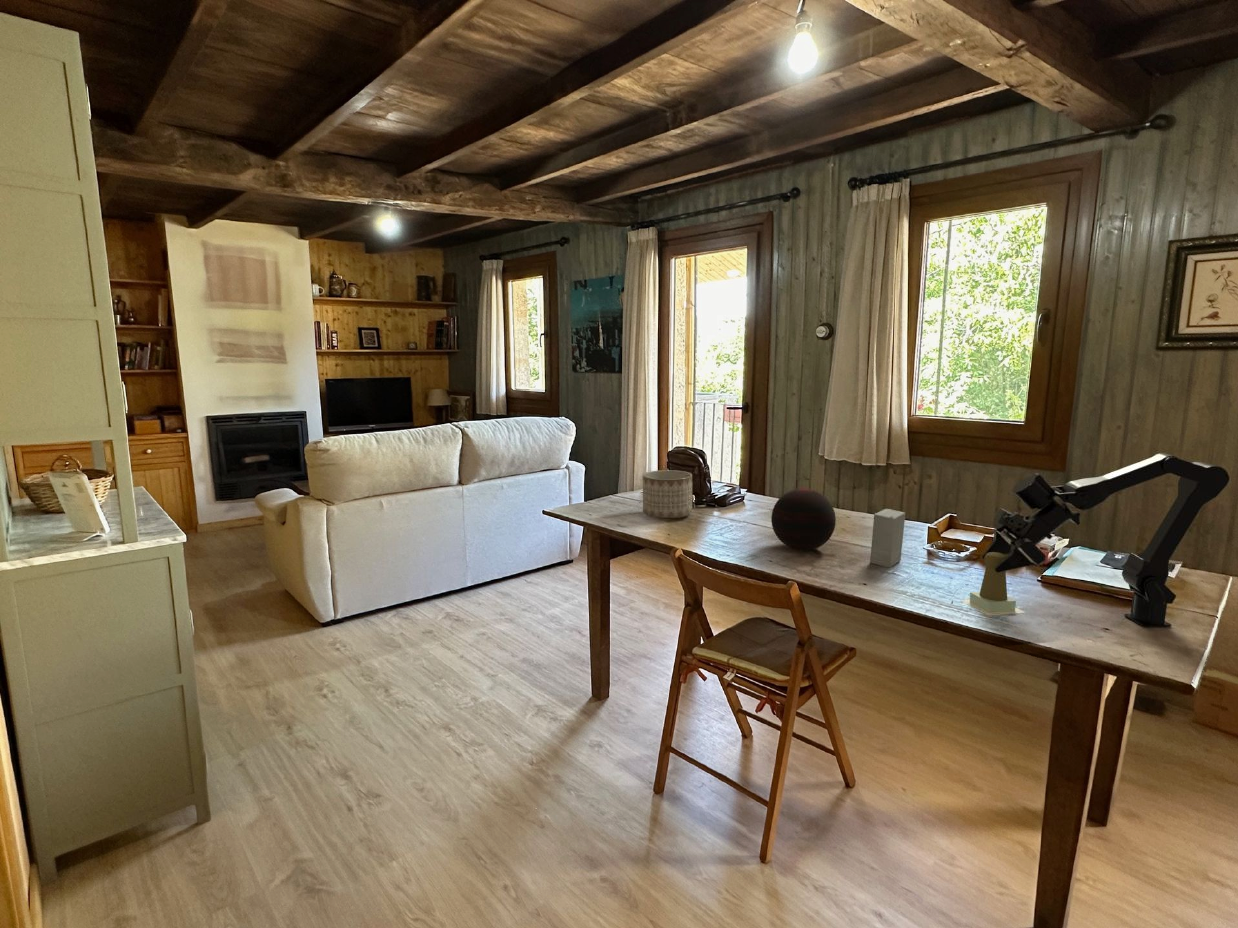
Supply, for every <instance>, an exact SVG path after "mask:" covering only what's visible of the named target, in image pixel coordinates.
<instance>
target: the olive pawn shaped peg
mask: <svg viewBox="0 0 1238 928" xmlns="http://www.w3.org/2000/svg"><path fill="white" fill-rule="evenodd" d="M1006 556H1007V554H1005V553H1003V554H1002V553H998V552H989V553H987V554H986V555H985V557H984V559H983V561H984V564H985V570H984V573H983V579H982V583H981V586H980V589H979V590H980V591H979V592H980V594H979V595H980V596H981V597H983V598H985V599H988V600H993V601H1005V600H1007V596H1008V589H1007V588H1008V587H1007V571H1003V572H996V571H995V570H994V569H995V567H996V566H997V565H998V564H999V563H1000V562H1001V561H1002V560H1003V559H1004V558H1005V557H1006Z"/></svg>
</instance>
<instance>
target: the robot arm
mask: <svg viewBox="0 0 1238 928" xmlns="http://www.w3.org/2000/svg"><path fill="white" fill-rule="evenodd" d="M1168 474H1172V475H1174V476H1177V477H1179V479H1178V482H1177V497H1176V499H1175V500H1174V501H1173V503H1172V505H1171V506H1170V508H1169V510H1168V511H1167V512H1166V515H1165V516H1164V518H1163V519H1162V521H1161V523H1160V524H1159V526H1158V528H1157V530H1156V532H1155V533H1154V535H1153V536H1152V537H1151V540H1150V541H1149V543H1148V545H1147V546H1146V548H1145V550H1143V551H1142V552H1140V553H1139V554H1134V553H1133V552H1131V553H1129V555H1128V557H1127V560H1126V562H1125V563H1124V564H1122V565H1121V568H1122V570H1121V571H1122V572H1121V576H1122V578H1123V581H1125V583H1126V584H1127V585H1128V588H1129V590H1131V591H1133V595H1132V599H1131V607H1130V613H1124V617H1125V618H1128V619H1129V620H1131V621H1133V622H1135V623H1137V624H1138V625H1140V626H1142V627H1156V628H1157V627H1172V623H1170V622H1169V621H1166V616H1167V615H1166V614H1167V608H1168V604H1169V605H1170V604H1171V605H1172V604H1173V602H1175V601H1174V600H1175V599H1176V598H1177V594H1175V593H1174V592H1173V591H1172V590H1171V589H1170V588H1169V587H1168V586H1167V585H1166V582H1167V580H1168V577H1169V575H1170V569H1169V568H1170V560H1171V558H1172V557H1173V555H1174V553H1175V552H1176V550H1177V548H1178V547H1179V545H1180V544H1181V542H1182V541H1183V539H1184V537H1185V535H1187V533H1188V531H1189V529H1190V528H1191V525H1192V524H1193V523H1194V522H1195V519H1196V517H1197V516H1198V515H1199V513H1200V511H1201V509H1202V508H1203V507H1204V506H1205V505H1206V504H1208V503H1209V502H1211V501H1212V500H1214V499H1216V498H1217V497H1219V496H1220V494H1221V493H1222V491H1224V490H1225V488H1226V487H1227V486H1228V484H1229V482H1230V480H1231V478H1230V476H1229V473H1228V471H1227V470H1226V469H1225V468H1223V467H1222V466H1217V465H1215V464H1211V463H1208V462H1203V461H1193V462H1191V461H1187V460H1185V459H1181V458H1178V457H1177V456H1175V455H1171V454H1169V453H1163V452H1160V453H1156V454H1155V455H1154V456H1152V457H1149V458H1147V459H1144V460H1141V461H1140V462H1136V463H1133V464H1130V465H1128V466H1125V467H1123V468H1122V467H1121V468H1120V469H1118V470H1114V471H1112V472H1110V473H1107V474H1104V475H1101V476H1097V477H1087V478H1086V477H1085V478H1081V479H1076V480H1071V481H1068V482H1066V483H1064V485H1057V486H1050V484H1049V483H1048V482H1046V480H1045V479H1044V477H1043V476H1042V475H1041V474H1039V473H1037V472H1036V473H1034V474H1032V475H1031V476H1030V475H1029V476H1027V477H1025V478H1023V479H1020V480H1018V482H1016V483H1015V485H1014V486H1013V487H1012V492H1013V494H1014V495H1015V496H1016V497H1018V499H1019V500H1021V502H1022V503H1024V505H1025V506H1026V507H1028V508H1029V509H1030V510H1034V509H1036V511H1035V512H1034V513H1033V514H1031V515H1029V514H1025V515H1022V514H1021V513H1019V512H1018V511H1017V512H1016V511H1014V512H1011V511H1009V510H1006V509H1004V508H1002V507H1000V508H999V509H998V511H997V512H996V514H995V516H993V520H995V521H996V524H994V525H993V528H994V529H992V532H993V539H992V541H991V543H990V544H989V546H988V547H987V549H986V550H985V552H983V554H982V556H981V558H982V559H983V560H984V557H985V555H986V554H987V553H989V552H998V553H1002V554H1005V553H1007V552H1009V553H1008V554H1006V557H1005V558H1004V559H1003V560H1002V561H1001V562H1000V563H999V564H998V565H997V566H996V567H995V569H994V570H995V571H996V572H1003V571H1006V572H1008V571H1011V570H1015V569H1018V568H1019V569H1020V568H1025V567H1030V566H1032V567H1033V566H1035V565H1037V566H1038V567H1039V566H1041V565H1042V564H1043V563H1044V562H1046V556H1047V555H1046V554H1045V553H1044V552H1043V551H1042V550H1041V549H1040V548H1039V547H1038V546H1037V545H1038V544H1040V543H1041V542H1042V541H1044V540H1045V539H1046V538H1047V539H1048V540H1051V539H1052V538H1053V537H1054V536H1053V535H1052V534H1053V533H1054V532H1055V531H1057V530H1058V529H1059V528H1061V527H1062V526H1064V524H1066V523H1067V522H1069V521H1070V522H1071V523H1073V524H1075V525H1077V526H1079V525H1080V524H1081V523H1080V522H1081V521H1080V516H1081V513H1080V512H1078V511H1076V510H1074V511H1073V510H1072V509H1071V508H1070V507H1069V506H1072V507H1073V508H1075V509H1078V510H1081V511H1087V510H1092V509H1093V508H1095V507H1096V506H1099V505H1100V504H1102V503H1103V502H1105V501H1106V500H1107V499H1109V497H1111V496H1112V495H1114V494H1116V493H1119V492H1121V491H1123V490H1126V489H1129V488H1132V487H1135V486H1138V485H1139V484H1144V483H1145V482H1148V481H1151V480H1154V479H1157V478H1160V477H1162V476H1164V475H1168ZM1054 498H1055V499H1054ZM1057 499H1058V500H1059V501H1061V502H1060V503H1059V502H1057ZM1063 502H1064V503H1063ZM1068 505H1069V506H1068Z"/></svg>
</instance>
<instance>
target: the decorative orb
mask: <svg viewBox="0 0 1238 928" xmlns="http://www.w3.org/2000/svg"><path fill="white" fill-rule="evenodd" d="M833 507H834V506H833V505H832V503H831V502H830V501H829V499H828V498H827V497H826V496H825V495H823V494H822V493H820V492H818V491H816V490H814V489H811V488H795V489H792V490H789V491H788V492H786V493H784V494H782V495H781V496H780V497H779V499H778V500H777V501H776V503H775V504H774V506H773V508H772V512H771V516H770V518H771V526H772V529H773V532H774V534H775V536H776V537H777V539H778V540H779V541H780V542H781V543H782V544H783V545H784V546H786V547H788V548H791V549H793V550H796V551H802V552H803V551H804V552H806V551H807V552H808V551H813V550H816V549H819V548H820V547H822V546H824V544H826V543H827V542H828V541H829V540H830V539H831V537H832V535H833V533H834V531H835V528H836V522H837V521H836V517H837V516H836V513H835V509H834V508H833Z"/></svg>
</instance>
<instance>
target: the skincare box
mask: <svg viewBox="0 0 1238 928" xmlns="http://www.w3.org/2000/svg"><path fill="white" fill-rule="evenodd" d="M905 520H906V512H903V511H899V510H894V509H889V508H885V509H882V510H880V511H879V512H875V513H874V514H873V523H872V524H873V525H872V538H871V549H870V560H869V563H870V564H874V565H878V566H881V567H885V568H892V567H893V566H894V565H896V564H897V563H899V562H901V559H902V551H903V543H904V542H903V540H904V530H905V522H906V521H905Z"/></svg>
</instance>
